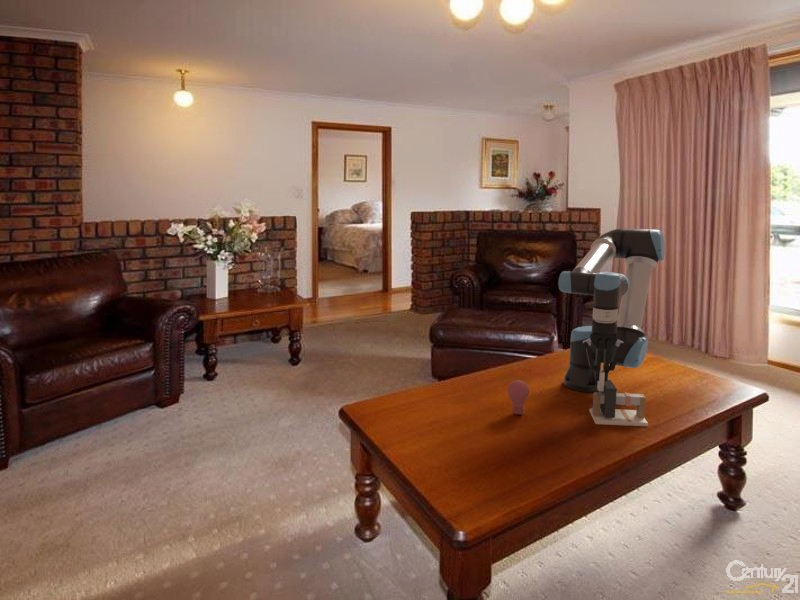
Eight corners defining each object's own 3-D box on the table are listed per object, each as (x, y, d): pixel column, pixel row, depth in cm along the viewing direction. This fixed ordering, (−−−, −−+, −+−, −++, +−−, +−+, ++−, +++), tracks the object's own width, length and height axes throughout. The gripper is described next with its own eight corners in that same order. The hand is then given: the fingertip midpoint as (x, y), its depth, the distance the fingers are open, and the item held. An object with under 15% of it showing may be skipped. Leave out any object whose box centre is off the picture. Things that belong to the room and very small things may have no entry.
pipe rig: (595, 424, 171) (597, 398, 170) (589, 411, 181) (590, 387, 179) (647, 426, 169) (649, 400, 167) (638, 413, 179) (640, 389, 177)
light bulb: (504, 410, 183) (505, 377, 181) (524, 409, 184) (525, 376, 181) (510, 418, 176) (511, 385, 174) (531, 417, 177) (532, 384, 174)
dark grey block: (605, 417, 172) (606, 388, 170) (599, 407, 179) (601, 379, 177) (614, 417, 171) (616, 388, 169) (608, 407, 179) (610, 380, 177)
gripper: (585, 323, 167) (581, 393, 171) (629, 323, 165) (624, 395, 169) (581, 317, 174) (577, 385, 179) (623, 318, 172) (618, 386, 177)
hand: (600, 389), depth 174 cm, fingers closed
